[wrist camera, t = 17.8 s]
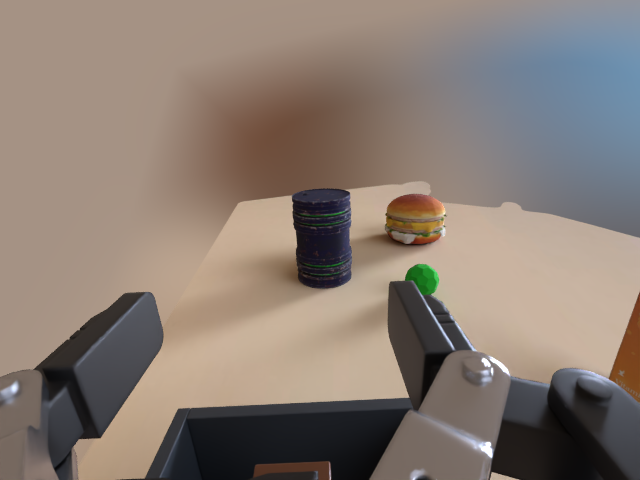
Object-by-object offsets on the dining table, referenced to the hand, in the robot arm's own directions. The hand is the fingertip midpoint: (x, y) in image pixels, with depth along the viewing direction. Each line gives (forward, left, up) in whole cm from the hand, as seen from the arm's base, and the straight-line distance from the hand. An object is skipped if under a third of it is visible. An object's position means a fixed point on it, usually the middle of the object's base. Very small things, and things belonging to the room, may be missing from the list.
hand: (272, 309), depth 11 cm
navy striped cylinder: (+2, +43, -21) cm, 48 cm away
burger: (+23, +60, -21) cm, 68 cm away
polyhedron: (+17, +35, -21) cm, 44 cm away
